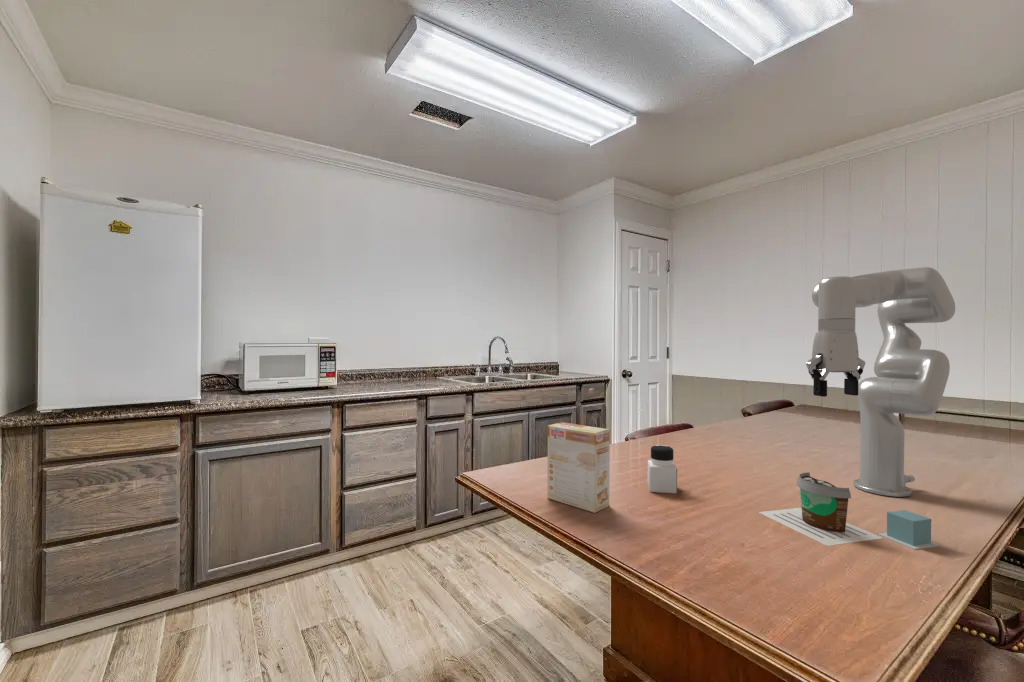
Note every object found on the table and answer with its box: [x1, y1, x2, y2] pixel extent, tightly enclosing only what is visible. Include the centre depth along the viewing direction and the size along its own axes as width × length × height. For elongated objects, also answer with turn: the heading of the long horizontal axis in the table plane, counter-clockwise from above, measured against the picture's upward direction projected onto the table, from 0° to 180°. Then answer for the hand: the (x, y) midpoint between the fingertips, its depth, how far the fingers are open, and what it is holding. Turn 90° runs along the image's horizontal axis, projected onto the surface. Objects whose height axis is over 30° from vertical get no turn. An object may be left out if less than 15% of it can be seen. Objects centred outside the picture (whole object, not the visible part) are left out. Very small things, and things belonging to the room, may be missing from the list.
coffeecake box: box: [546, 422, 611, 514], centre depth 115 cm, size 15×7×20 cm, turn 47°
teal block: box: [886, 509, 932, 546], centre depth 94 cm, size 5×5×5 cm
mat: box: [877, 532, 941, 551], centre depth 94 cm, size 7×7×1 cm
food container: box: [795, 472, 852, 532], centre depth 102 cm, size 12×6×10 cm, turn 6°
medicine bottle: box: [647, 444, 678, 495], centre depth 126 cm, size 7×7×12 cm
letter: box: [758, 507, 883, 547], centre depth 102 cm, size 15×18×1 cm
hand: (835, 395), depth 111 cm, fingers open, 9 cm apart
